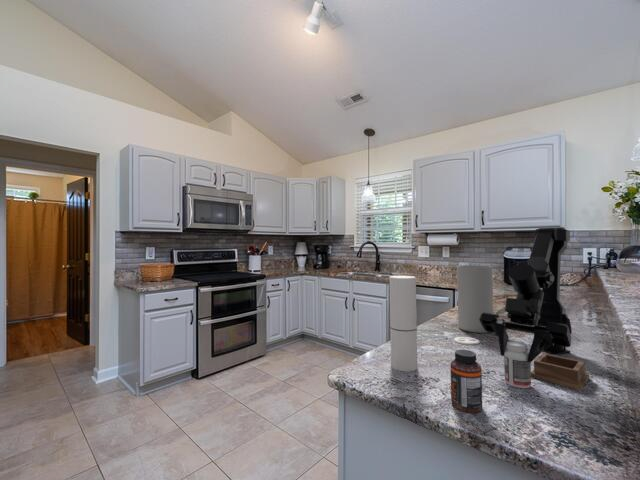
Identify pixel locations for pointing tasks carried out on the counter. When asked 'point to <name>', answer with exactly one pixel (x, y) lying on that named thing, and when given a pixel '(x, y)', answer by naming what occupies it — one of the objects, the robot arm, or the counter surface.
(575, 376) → the socket block
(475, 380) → the supplement bottle
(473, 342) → the pendant
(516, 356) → the pill bottle
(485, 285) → the cylinder vase
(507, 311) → the robot arm
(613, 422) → the counter surface
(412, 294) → the cylindrical container
